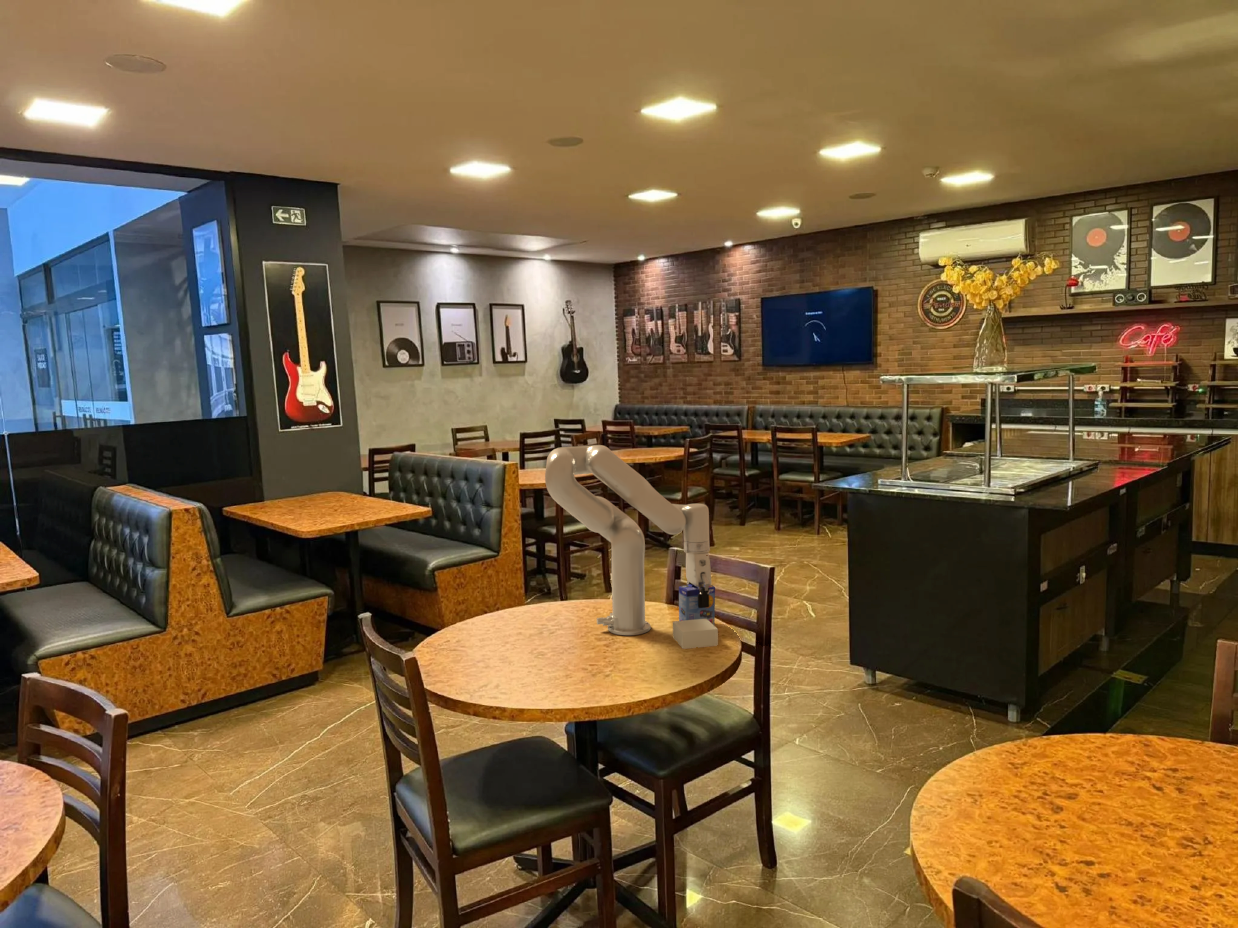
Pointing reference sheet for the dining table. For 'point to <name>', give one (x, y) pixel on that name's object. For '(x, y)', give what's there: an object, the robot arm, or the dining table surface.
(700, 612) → the ink cartridge box
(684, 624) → the base block
